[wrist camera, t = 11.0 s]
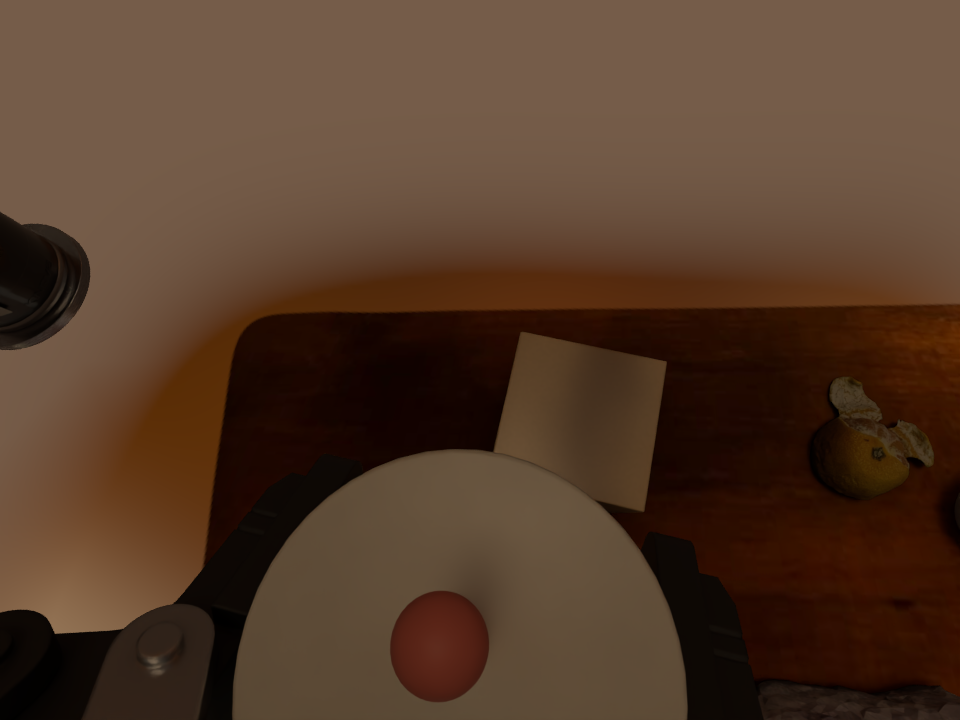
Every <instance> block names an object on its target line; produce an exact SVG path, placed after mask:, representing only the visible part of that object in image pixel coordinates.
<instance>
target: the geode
mask: <svg viewBox="0 0 960 720" xmlns="http://www.w3.org/2000/svg"><path fill="white" fill-rule="evenodd" d="M756 690H757V694H758V698H759V703H760V707H761V711H762V715H763V719H764V720H960V697H958V696H956V695H954V694H951V693H949V692H947V691H945V690H944V689H943V688H942V687H941V686H922V685H912V686H907V687H903V688H900V689H897V690H892V691H887V692H881V693H873V694H867V693H864V692H861V691H857V690H853V689H849V688H845V687H841V686H834V687H832V688H827V687H823V686H819V685H802V684H798V683H795V682H791V681H783V680H774V679H773V680H768V681H763V682H762V683H760V684H759V685H758V686H757V688H756Z"/></svg>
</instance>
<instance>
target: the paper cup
mask: <svg viewBox="0 0 960 720" xmlns="http://www.w3.org/2000/svg"><path fill="white" fill-rule="evenodd" d="M687 713H688V703H687V688H686V673H685V667H684V662H683V656H682V651H681V646H680V640H679V636H678V633H677V630H676V627H675V624H674V620H673V617H672V614H671V611H670V607H669V605H668V603H667V601H666V598H665V596H664V594H663V591H662V589H661V587H660V585H659V582H658V580H657V578H656V576H655V575H654V573H653V571H652V569H651V568H650V566H649V564H648V563H647V561H646V559H645V558H644V556H643V554H642V552H641V551H640V550H639V548H638V547H637V546H636V544H635V543H634V542H633V540H632V539H631V538H630V536H629V535H628V534H627V532H626V531H625V530H624V529H623V527H622V526H621V525H620V524H619V523H618V522H617V521H616V520H615V519H614V518H613V517H612V516H611V515H610V514H609V513H608V512H607V511H606V510H605V509H604V508H603V507H602V506H601V505H600V504H599V503H598V502H596V501H595V500H594V499H593V498H591V497H590V496H589V495H588V494H586V493H585V492H584V491H583V490H581V489H580V488H579V487H577V486H576V485H574V484H572V483H571V482H569V481H567V480H566V479H564V478H562V477H561V476H559V475H558V474H556V473H554V472H552V471H550V470H547V469H545V468H543V467H541V466H538V465H536V464H534V463H532V462H529V461H526V460H522V459H519V458H516V457H512V456H509V455H506V454H501V453H495V452H488V451H482V450H465V449H448V450H439V451H429V452H423V453H419V454H415V455H410V456H406V457H402V458H399V459H396V460H393V461H391V462H388V463H386V464H383V465H380V466H378V467H375V468H373V469H371V470H369V471H368V472H366V473H364V474H362V475H360V476H358V477H356V478H355V479H353V480H351V481H349V482H348V483H347V484H345V485H344V486H342V487H341V488H340V489H338V490H337V491H335V492H334V493H333V494H331V495H330V496H328V497H327V498H326V499H325V500H324V501H323V502H322V503H321V504H320V505H318V506H317V507H316V508H315V509H314V510H313V511H312V512H311V513H310V514H309V515H307V517H306V518H305V519H304V520H303V521H302V522H301V524H300V525H299V526H298V527H297V528H296V529H295V531H294V532H293V533H292V534H291V535H290V536H289V537H288V539H287V540H286V542H285V543H284V545H283V546H282V548H281V549H280V551H279V552H278V554H277V555H276V557H275V558H274V560H273V561H272V563H271V565H270V567H269V568H268V570H267V572H266V574H265V576H264V578H263V580H262V582H261V584H260V586H259V588H258V590H257V592H256V595H255V598H254V600H253V603H252V605H251V608H250V611H249V613H248V616H247V618H246V622H245V626H244V630H243V633H242V637H241V641H240V645H239V649H238V654H237V661H236V668H235V675H234V682H233V709H232V719H233V720H687Z"/></svg>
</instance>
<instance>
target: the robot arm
mask: <svg viewBox="0 0 960 720" xmlns="http://www.w3.org/2000/svg"><path fill="white" fill-rule="evenodd" d="M66 279H67V263H66V259H65V256H64V254H63V253H62V251H61V249H60V248H59V247H58V246H57V245H56V244H55V243H53V242H52V241H50V240H48V239H47V238H45V237H43V236H41V235H39V234H37V233H34V232H33V231H31V230H29V229H28V228H26V227H24V226H23V225H21V224H19V223H17V222H16V221H14V220H13V219H11V218H9V217H7V216H6V215H4V214H2V213H1V212H0V332H11V331H16V330H19V329H22V328H25V327H27V326H29V325H31V324H33V323H35V322H36V321H38V320H39V319H40V318H42V317H43V316H44V315H45V314H46V313H47V312H49V311H50V309H51V308H52V307H53V306H54V305H55V303H56V302H57V301H58V299H59V297H60V296H61V294H62V292H63V289H64V287H65V284H66ZM360 475H362V464H361V462H359V461H355V460H351V459H347V458H342V457H338V456H334V455H330V454H323V455H322V456H321V457H320V458H319V459H318V460H317V462H316V463H315V464H314V466H313V467H312V469H311V470H310V471H309V473H308V474H307V475H306V476H303V475H299V474H295V473H291V474H289V475H288V476H286V477H285V478H283V479H282V480H280V481H278V482H277V483H275V484H274V485H272V486H271V487H269V488H268V489H267V490H266V491H265V493H264V494H263V495H262V496H261V498H260V499H259V500H258V501H257V503H256V504H255V505H254V506H253V507H252V511H251V512H248V514H247V515H246V516H245V517H244V519H243V520H242V521H241V522H240V524H239V525H238V528H237V530H234V531H233V532H232V533H231V535H230V536H229V537H228V538H227V540H226V541H225V542H224V543H223V545H222V546H221V547H220V548H219V550H218V551H217V552H216V553H215V554H214V556H213V557H212V558H211V559H210V561H209V562H208V563H207V564H206V566H205V567H204V568H203V569H202V571H201V572H200V573H199V574H198V576H197V577H196V578H195V579H194V581H193V582H192V583H191V584H190V586H189V587H188V588H187V589H186V590H185V592H184V593H183V594H182V595H181V596H180V598H178V600H177V601H176V602H174V604H172V605H166V606H163V607H159V608H156V609H154V610H151V611H149V612H147V613H145V614H143V615H141V616H140V617H138V618H136V619H135V620H134V621H132V622H131V623H130V624H129V625H127V626H126V627H125V628H124V629H120V630H112V631H98V632H79V633H62V634H55V633H54V631H53V629H52V627H51V624H50V623H49V621H48V619H47V618H46V617H44V616H43V615H42V614H40V613H38V612H35V611H30V610H12V611H6V612H1V613H0V720H233V719H232V709H233V682H234V675H235V668H236V661H237V654H238V649H239V645H240V641H241V637H242V633H243V630H244V626H245V622H246V618H247V616H248V613H249V611H250V608H251V605H252V603H253V600H254V598H255V595H256V592H257V590H258V588H259V586H260V584H261V582H262V580H263V578H264V576H265V574H266V572H267V570H268V568H269V567H270V565H271V563H272V561H273V560H274V558H275V557H276V555H277V554H278V552H279V551H280V549H281V548H282V546H283V545H284V543H285V542H286V540H287V539H288V537H289V536H290V535H291V534H292V533H293V532H294V531H295V529H296V528H297V527H298V526H299V525H300V524H301V522H302V521H303V520H304V519H305V518H306V517H307V515H309V514H310V513H311V512H312V511H313V510H314V509H315V508H316V507H317V506H318V505H320V504H321V503H322V502H323V501H324V500H325V499H326V498H327V497H328V496H330V495H331V494H333V493H334V492H335V491H337V490H338V489H340V488H341V487H342V486H344V485H345V484H347V483H348V482H349V481H351V480H353V479H355V478H356V477H358V476H360ZM641 552H642V554H643V556H644V558H645V559H646V561H647V563H648V564H649V566H650V568H651V569H652V571H653V573H654V575H655V576H656V578H657V580H658V582H659V585H660V587H661V589H662V591H663V594H664V596H665V598H666V601H667V603H668V605H669V607H670V611H671V614H672V617H673V620H674V624H675V627H676V630H677V633H678V636H679V640H680V646H681V651H682V656H683V662H684V667H685V673H686V688H687V703H688V713H687V720H764V719H763V715H762V711H761V707H760V703H759V698H758V694H757V690H756V686H755V682H754V678H753V674H752V670H751V666H750V665H748V659H749V658H748V654H747V650H746V646H745V642H744V640H742V630H741V626H740V622H739V618H738V614H737V610H736V605H735V604H734V602H733V601H732V599H731V598H730V596H729V594H728V593H727V591H726V590H725V588H724V587H723V585H722V584H721V582H720V581H719V579H718V577H714V576H710V575H705V574H701V573H699V570H698V565H697V560H696V555H695V550H694V546H693V544H692V542H691V541H688V540H684V539H680V538H676V537H672V536H667V535H663V534H659V533H655V532H649V533H648V535H647V536H646V539H645V541H644V544H643V546H642V549H641Z"/></svg>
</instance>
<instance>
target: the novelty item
mask: <svg viewBox="0 0 960 720" xmlns="http://www.w3.org/2000/svg"><path fill="white" fill-rule="evenodd" d="M955 519H956V523H957V526H958V528H959V530H960V493H959V495H958V497H957V499H956V503H955Z"/></svg>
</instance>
